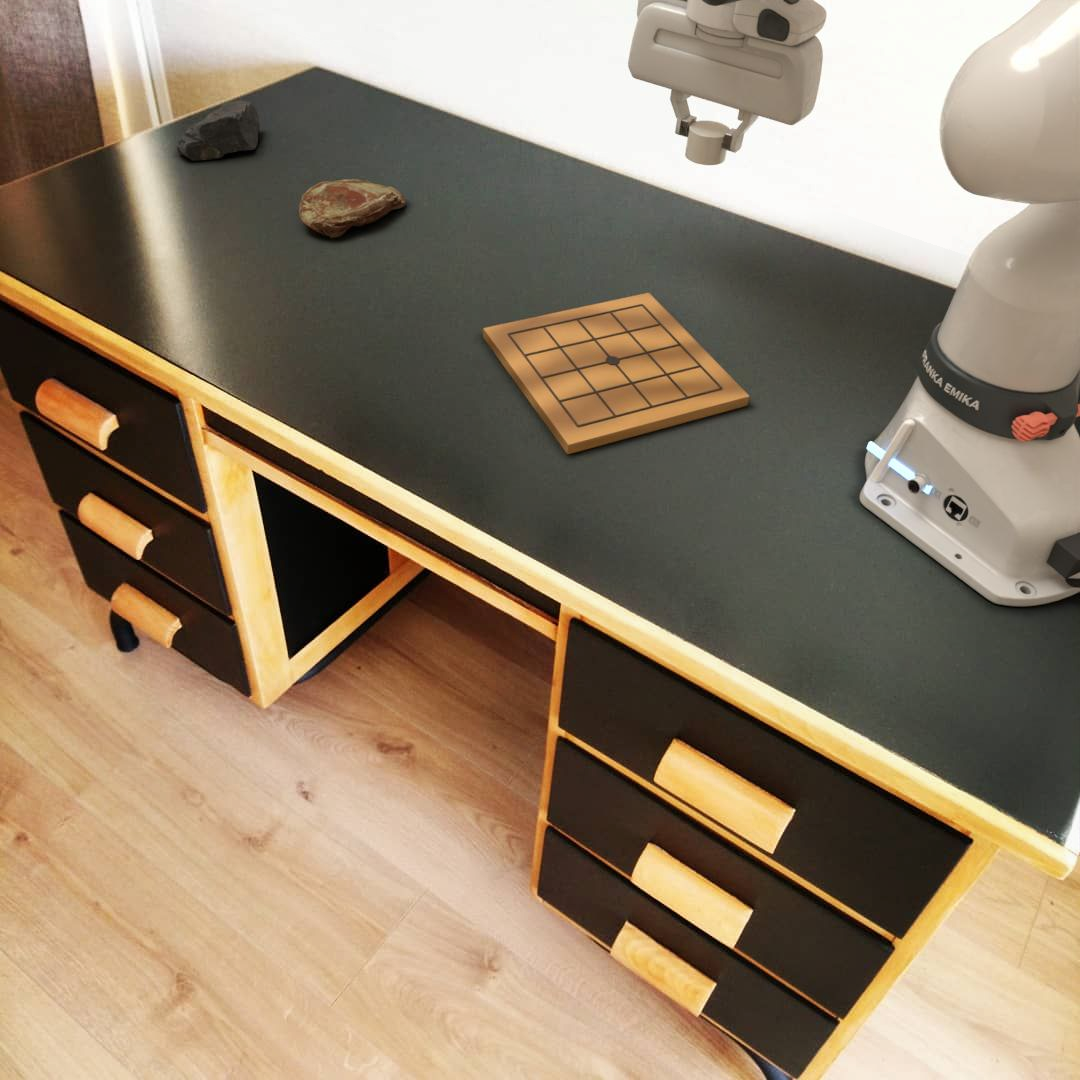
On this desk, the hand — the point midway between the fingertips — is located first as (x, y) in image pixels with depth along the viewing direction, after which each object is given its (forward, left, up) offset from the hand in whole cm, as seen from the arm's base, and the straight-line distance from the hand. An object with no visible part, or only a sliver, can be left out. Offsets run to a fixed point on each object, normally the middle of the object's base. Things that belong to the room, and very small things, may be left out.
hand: (707, 141), depth 101 cm
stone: (+24, +33, -15) cm, 44 cm away
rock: (+47, +43, -15) cm, 66 cm away
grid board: (-16, +18, -15) cm, 28 cm away
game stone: (0, 0, -2) cm, 2 cm away
